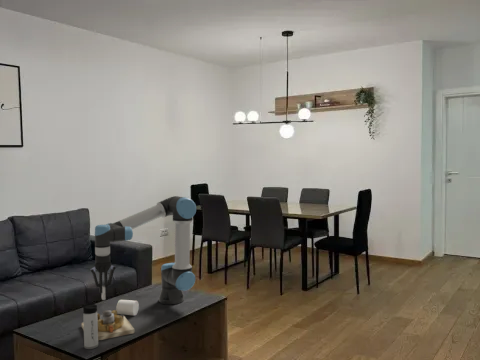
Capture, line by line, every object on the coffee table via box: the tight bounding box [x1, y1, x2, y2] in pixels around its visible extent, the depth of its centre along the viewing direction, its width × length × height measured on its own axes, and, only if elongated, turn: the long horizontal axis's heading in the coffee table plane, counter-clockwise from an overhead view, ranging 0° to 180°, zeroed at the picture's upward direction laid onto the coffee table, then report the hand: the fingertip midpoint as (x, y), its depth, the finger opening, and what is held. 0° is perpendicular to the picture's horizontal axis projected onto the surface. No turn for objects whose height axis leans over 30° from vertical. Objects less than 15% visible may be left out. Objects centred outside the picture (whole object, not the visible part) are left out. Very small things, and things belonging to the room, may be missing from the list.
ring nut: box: [97, 309, 124, 332], centre depth 224 cm, size 16×18×5 cm
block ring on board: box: [80, 309, 135, 341], centre depth 225 cm, size 22×22×10 cm
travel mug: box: [82, 303, 99, 350], centre depth 206 cm, size 6×7×20 cm
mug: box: [115, 299, 140, 316], centre depth 249 cm, size 12×10×8 cm
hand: (103, 298), depth 230 cm, fingers closed
